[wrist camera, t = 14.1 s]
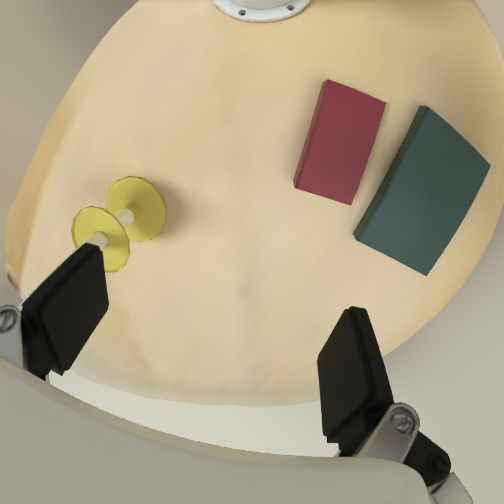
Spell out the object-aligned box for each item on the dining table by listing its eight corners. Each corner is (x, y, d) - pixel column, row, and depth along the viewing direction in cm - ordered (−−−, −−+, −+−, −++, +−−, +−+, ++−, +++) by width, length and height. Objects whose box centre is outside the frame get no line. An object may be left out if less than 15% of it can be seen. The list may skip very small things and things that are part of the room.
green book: (419, 105, 26) (427, 106, 24) (483, 162, 27) (490, 165, 25) (352, 233, 35) (356, 240, 33) (421, 269, 37) (426, 276, 35)
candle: (171, 241, 38) (70, 404, 15) (114, 241, 39) (5, 370, 16) (161, 173, 33) (-1, 303, 10) (101, 179, 34) (-48, 285, 11)
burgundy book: (323, 82, 26) (327, 79, 24) (377, 103, 26) (386, 103, 24) (293, 181, 33) (294, 188, 30) (345, 197, 33) (350, 205, 30)
